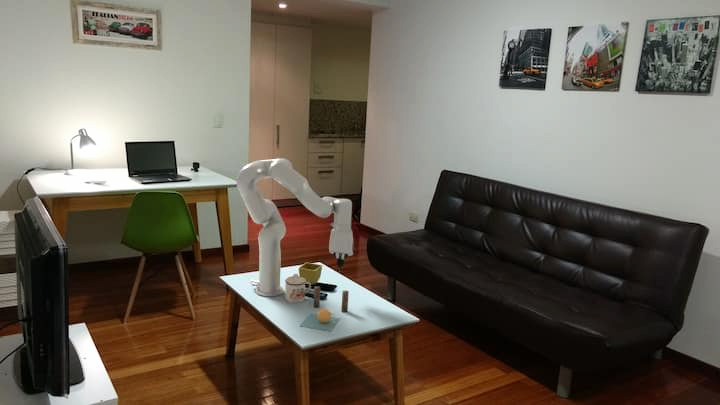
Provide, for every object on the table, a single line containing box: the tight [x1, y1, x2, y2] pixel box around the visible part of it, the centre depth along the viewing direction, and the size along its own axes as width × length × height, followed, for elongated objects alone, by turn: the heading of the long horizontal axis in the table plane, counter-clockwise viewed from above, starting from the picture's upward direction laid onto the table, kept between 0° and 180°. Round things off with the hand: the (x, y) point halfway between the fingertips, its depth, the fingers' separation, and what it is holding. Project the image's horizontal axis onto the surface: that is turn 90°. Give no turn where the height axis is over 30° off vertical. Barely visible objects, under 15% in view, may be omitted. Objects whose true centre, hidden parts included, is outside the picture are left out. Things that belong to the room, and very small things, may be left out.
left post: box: [313, 286, 321, 309], centre depth 240 cm, size 3×3×9 cm
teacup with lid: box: [284, 273, 312, 304], centre depth 248 cm, size 12×9×12 cm
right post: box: [341, 290, 349, 314], centre depth 238 cm, size 3×3×9 cm
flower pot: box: [298, 262, 323, 284], centre depth 267 cm, size 9×9×9 cm
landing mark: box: [299, 313, 341, 332], centre depth 227 cm, size 13×13×1 cm
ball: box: [317, 308, 332, 323], centre depth 226 cm, size 6×6×6 cm
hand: (340, 266), depth 249 cm, fingers closed
